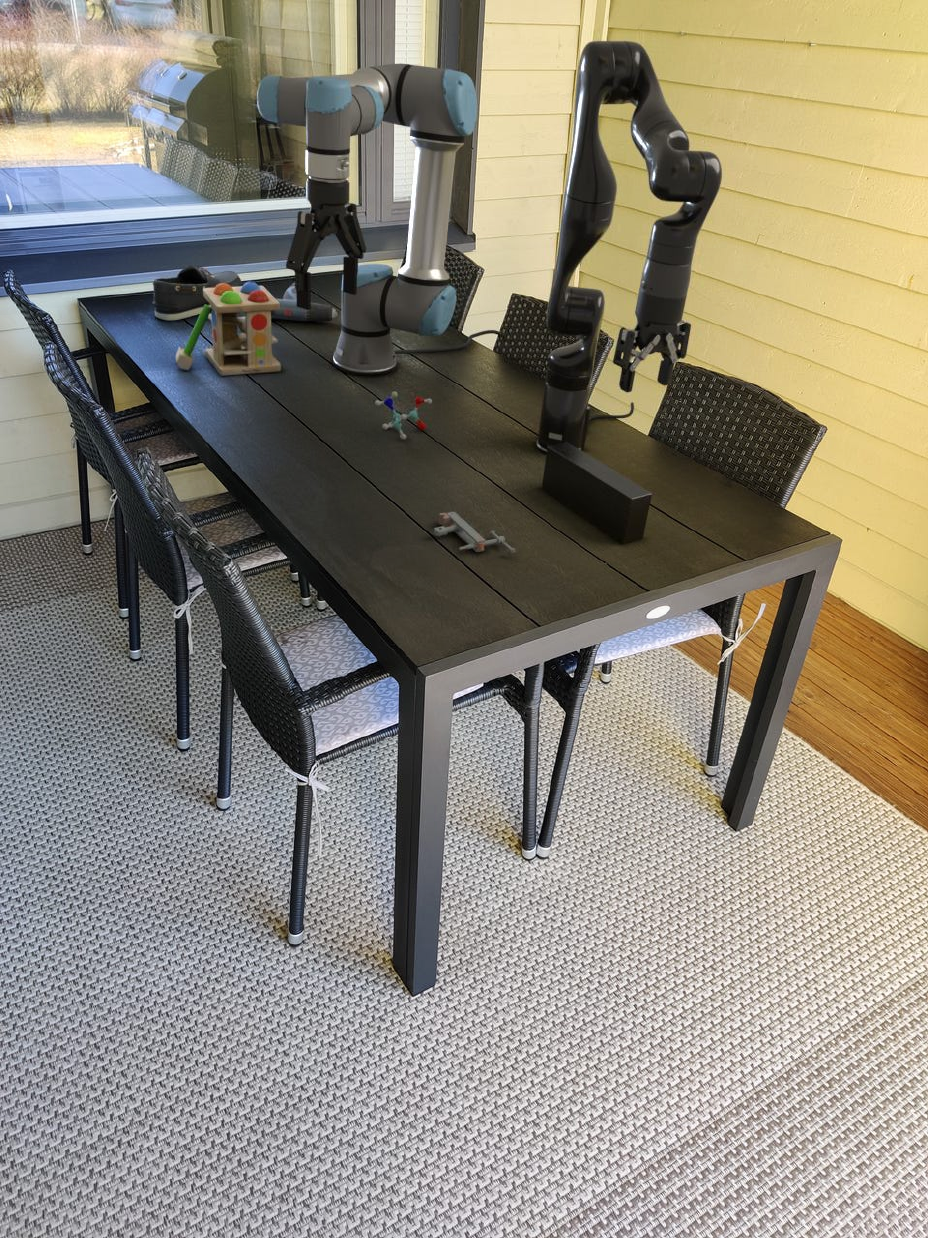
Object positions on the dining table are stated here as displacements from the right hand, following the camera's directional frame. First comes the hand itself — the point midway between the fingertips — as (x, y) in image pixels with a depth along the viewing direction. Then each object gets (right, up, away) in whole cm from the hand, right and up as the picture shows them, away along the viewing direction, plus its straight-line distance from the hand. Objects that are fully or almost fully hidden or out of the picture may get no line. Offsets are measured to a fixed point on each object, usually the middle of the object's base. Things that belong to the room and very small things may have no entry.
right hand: (644, 387), depth 164 cm
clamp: (-29, -25, +7) cm, 39 cm away
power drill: (-73, +45, +103) cm, 134 cm away
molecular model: (-44, +1, +44) cm, 62 cm away
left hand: (-56, +21, +20) cm, 63 cm away
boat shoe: (-102, +46, +102) cm, 151 cm away
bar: (-6, -19, +20) cm, 28 cm away
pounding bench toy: (-86, +21, +67) cm, 111 cm away
